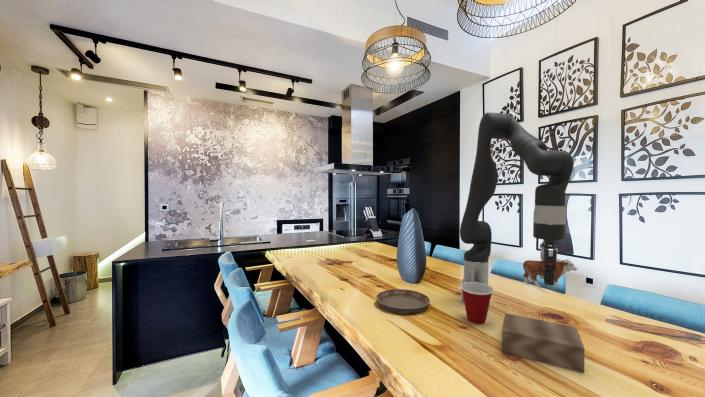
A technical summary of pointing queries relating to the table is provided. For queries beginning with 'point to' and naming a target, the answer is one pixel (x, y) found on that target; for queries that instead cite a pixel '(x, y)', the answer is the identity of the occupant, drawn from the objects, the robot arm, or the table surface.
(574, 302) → the table surface
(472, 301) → the plastic cup
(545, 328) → the walnut block
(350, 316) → the table surface
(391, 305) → the plant saucer
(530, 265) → the bull figurine
